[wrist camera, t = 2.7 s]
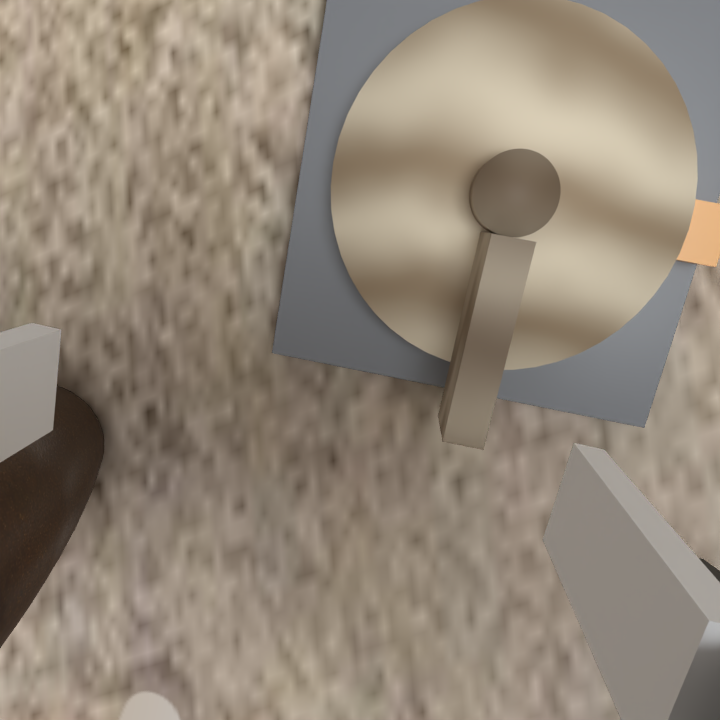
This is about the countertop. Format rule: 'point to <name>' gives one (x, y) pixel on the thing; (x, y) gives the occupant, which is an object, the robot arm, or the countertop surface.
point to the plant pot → (44, 502)
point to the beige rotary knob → (512, 191)
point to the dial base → (405, 361)
